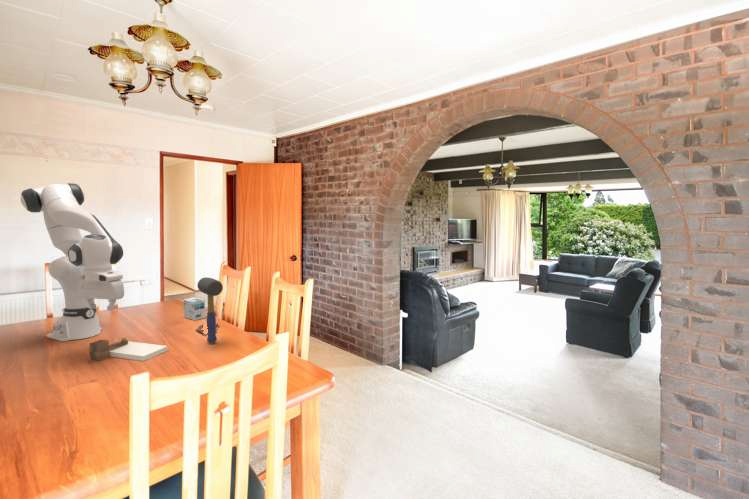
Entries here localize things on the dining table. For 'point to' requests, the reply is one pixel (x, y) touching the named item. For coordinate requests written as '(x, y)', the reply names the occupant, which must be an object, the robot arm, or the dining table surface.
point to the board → (138, 351)
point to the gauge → (103, 349)
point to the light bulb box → (194, 308)
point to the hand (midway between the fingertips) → (101, 309)
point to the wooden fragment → (207, 328)
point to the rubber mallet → (210, 304)
